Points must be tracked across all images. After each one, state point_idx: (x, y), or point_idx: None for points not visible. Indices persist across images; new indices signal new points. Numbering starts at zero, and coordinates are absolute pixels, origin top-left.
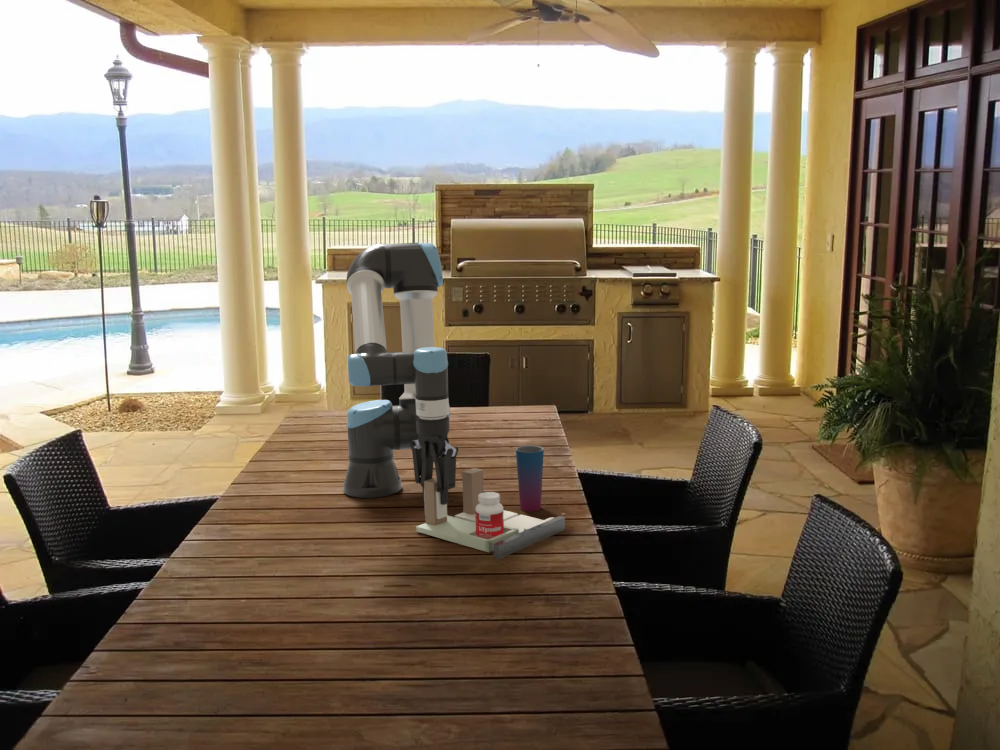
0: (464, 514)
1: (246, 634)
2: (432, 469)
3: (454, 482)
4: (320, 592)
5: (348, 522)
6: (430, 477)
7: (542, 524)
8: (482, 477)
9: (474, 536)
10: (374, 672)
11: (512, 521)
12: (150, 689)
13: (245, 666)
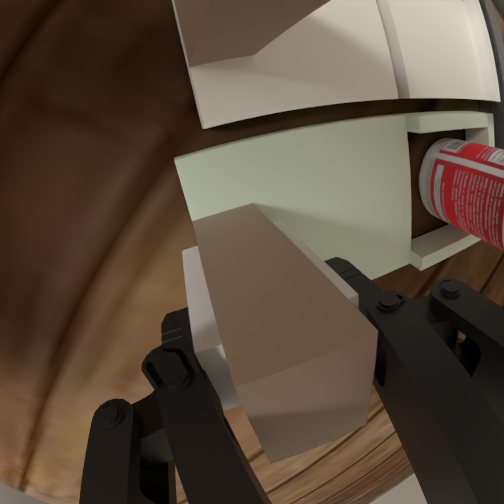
0: (225, 82)
1: (363, 482)
2: (262, 499)
3: (481, 303)
4: (349, 461)
5: (43, 409)
6: (229, 434)
7: (501, 55)
8: None
9: (460, 244)
10: None
11: (413, 26)
12: (371, 494)
13: (397, 470)
